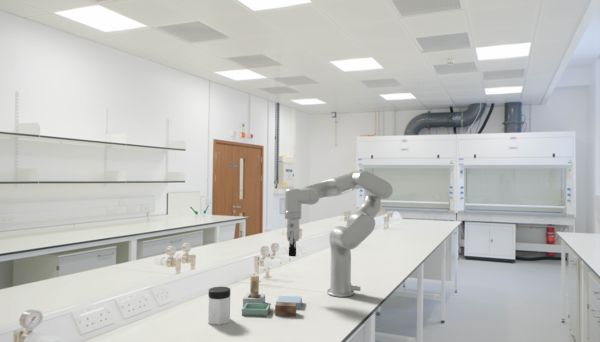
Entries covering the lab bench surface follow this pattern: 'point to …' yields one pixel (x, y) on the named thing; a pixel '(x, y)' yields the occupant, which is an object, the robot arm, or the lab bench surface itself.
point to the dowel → (254, 286)
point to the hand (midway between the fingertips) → (292, 255)
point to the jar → (219, 305)
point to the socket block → (254, 299)
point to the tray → (256, 309)
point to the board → (290, 300)
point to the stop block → (285, 309)
